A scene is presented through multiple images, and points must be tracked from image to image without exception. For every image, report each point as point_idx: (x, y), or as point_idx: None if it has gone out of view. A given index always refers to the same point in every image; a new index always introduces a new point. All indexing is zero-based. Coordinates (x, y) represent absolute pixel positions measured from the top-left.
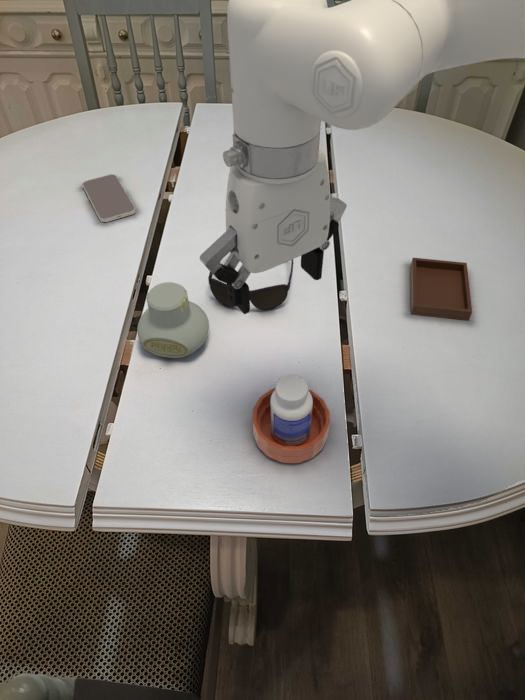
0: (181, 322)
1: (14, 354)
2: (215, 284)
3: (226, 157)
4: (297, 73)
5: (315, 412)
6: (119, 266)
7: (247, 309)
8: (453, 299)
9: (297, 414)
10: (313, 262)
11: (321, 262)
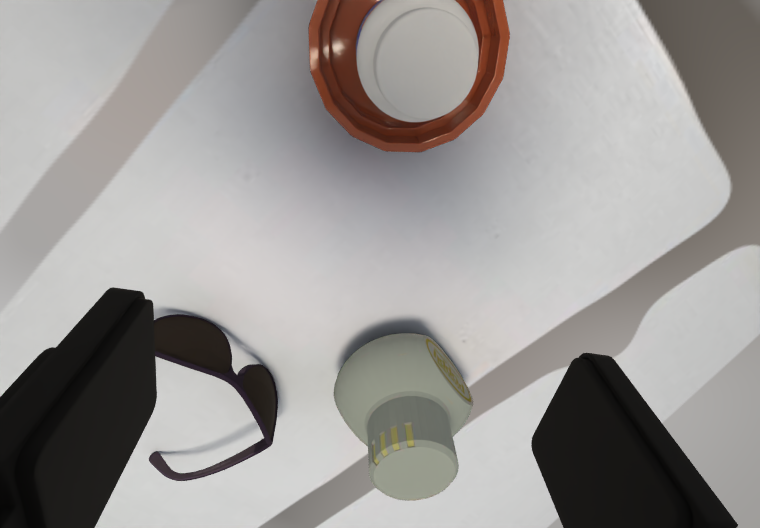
0: (413, 401)
1: None
2: (270, 427)
3: None
4: None
5: (330, 31)
6: (356, 524)
7: (609, 370)
8: None
9: (451, 3)
10: (96, 407)
11: (42, 380)
